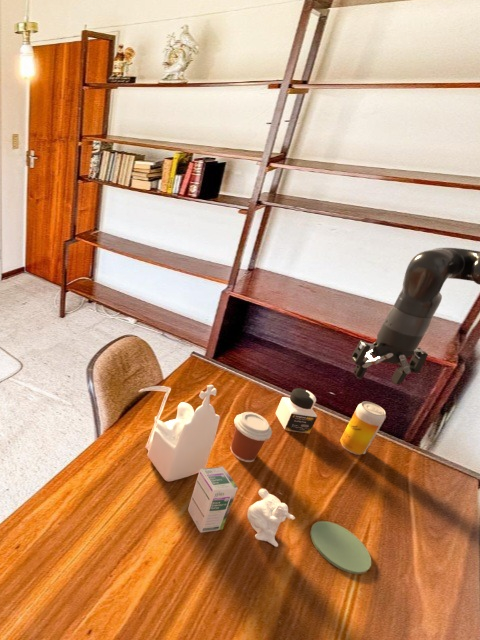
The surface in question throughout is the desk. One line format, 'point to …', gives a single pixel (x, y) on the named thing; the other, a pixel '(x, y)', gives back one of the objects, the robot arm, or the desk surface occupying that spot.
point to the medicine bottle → (297, 411)
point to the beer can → (363, 427)
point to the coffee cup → (249, 435)
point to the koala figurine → (267, 516)
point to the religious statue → (183, 437)
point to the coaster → (340, 547)
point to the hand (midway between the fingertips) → (376, 379)
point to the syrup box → (212, 499)
